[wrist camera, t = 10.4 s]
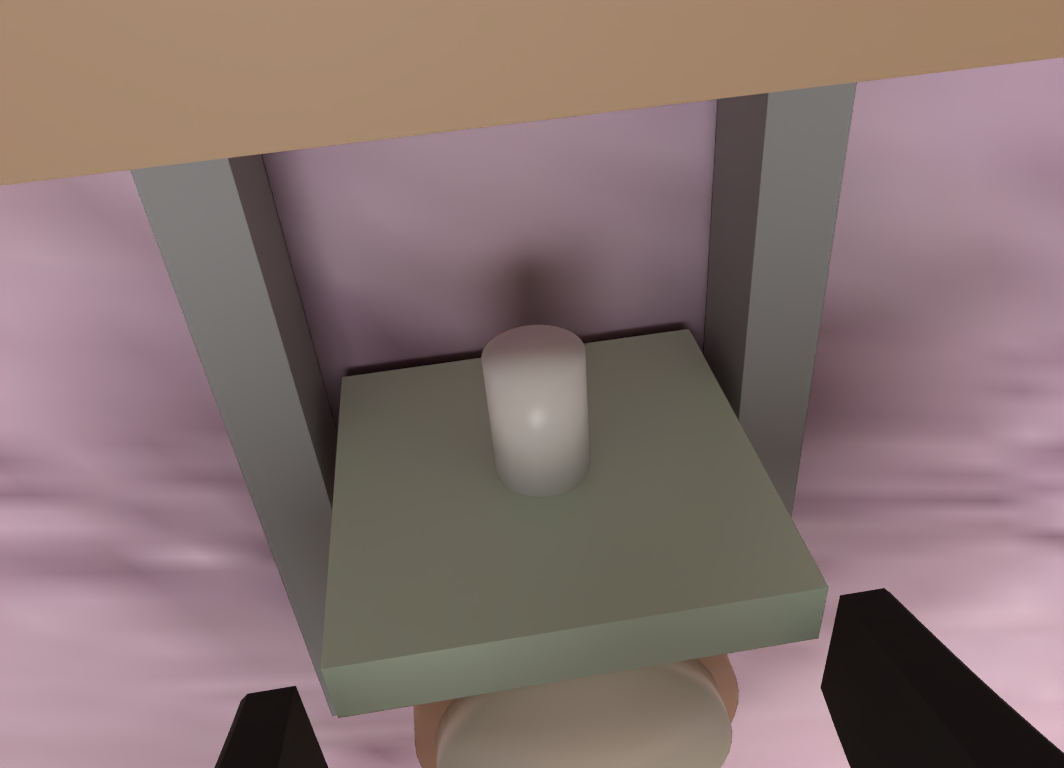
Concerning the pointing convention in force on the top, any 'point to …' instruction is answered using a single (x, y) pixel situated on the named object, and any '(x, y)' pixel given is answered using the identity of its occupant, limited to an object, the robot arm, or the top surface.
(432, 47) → the pusher lane
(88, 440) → the top surface
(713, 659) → the terracotta jar
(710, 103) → the top surface
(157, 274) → the top surface
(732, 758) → the top surface
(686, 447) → the pusher paddle
